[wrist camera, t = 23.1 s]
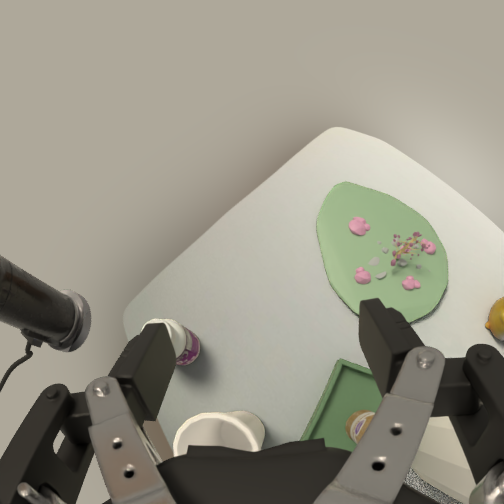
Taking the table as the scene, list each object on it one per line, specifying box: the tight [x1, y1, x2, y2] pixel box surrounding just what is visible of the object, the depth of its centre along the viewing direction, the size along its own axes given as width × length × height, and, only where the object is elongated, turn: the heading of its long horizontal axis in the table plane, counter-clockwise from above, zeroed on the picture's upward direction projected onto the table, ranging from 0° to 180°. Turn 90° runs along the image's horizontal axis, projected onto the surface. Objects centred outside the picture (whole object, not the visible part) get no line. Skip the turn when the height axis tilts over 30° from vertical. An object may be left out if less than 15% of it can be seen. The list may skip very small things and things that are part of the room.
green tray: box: [300, 359, 382, 452], centre depth 31 cm, size 14×13×3 cm
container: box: [411, 416, 476, 504], centre depth 21 cm, size 14×14×18 cm
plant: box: [317, 182, 448, 323], centre depth 39 cm, size 25×21×9 cm
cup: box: [173, 411, 265, 457], centre depth 28 cm, size 8×8×14 cm
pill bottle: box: [141, 319, 200, 365], centre depth 36 cm, size 5×5×10 cm
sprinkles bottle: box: [345, 410, 375, 444], centre depth 26 cm, size 5×5×14 cm
